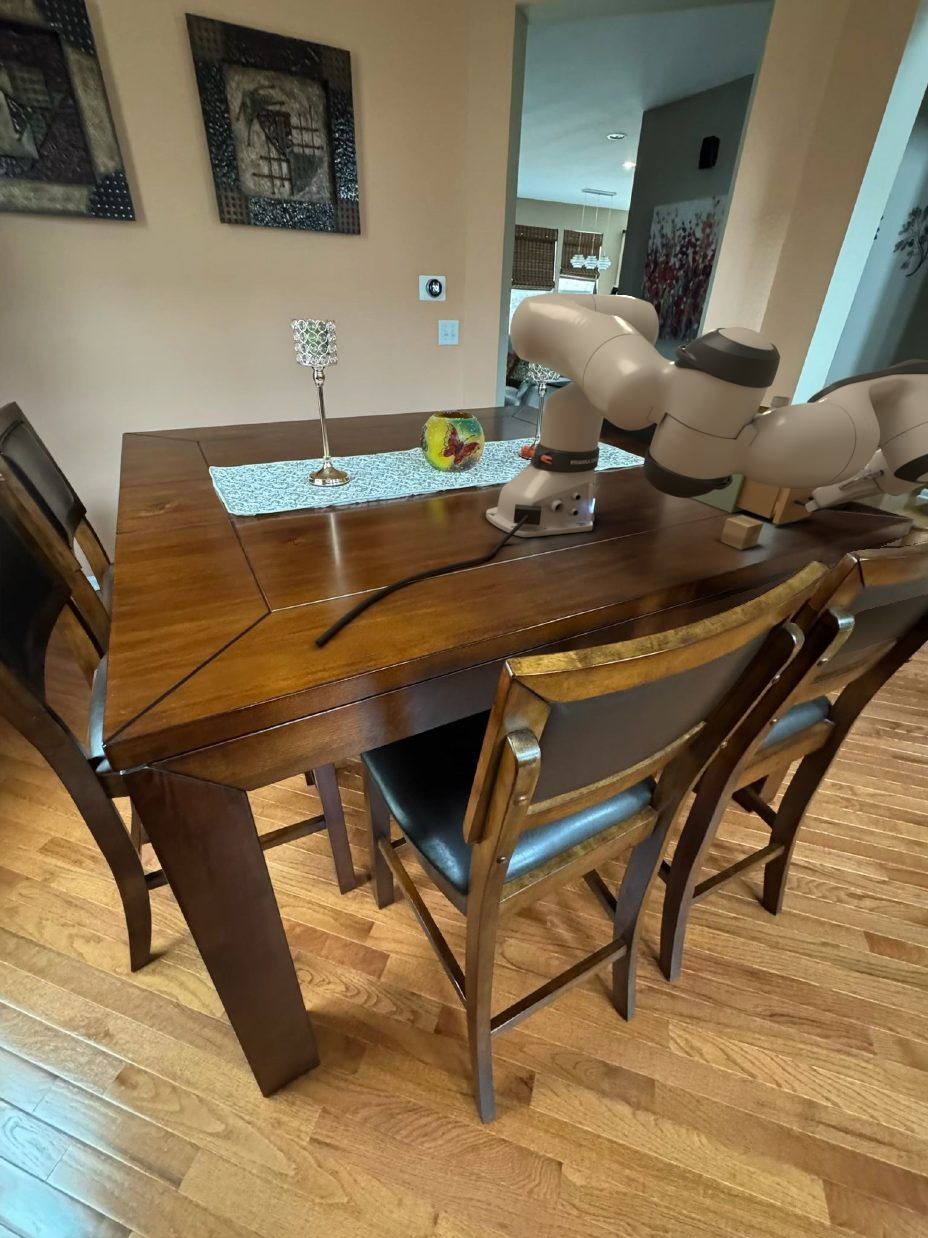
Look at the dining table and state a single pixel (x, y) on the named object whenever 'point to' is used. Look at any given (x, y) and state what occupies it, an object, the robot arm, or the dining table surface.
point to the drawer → (775, 501)
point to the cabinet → (724, 496)
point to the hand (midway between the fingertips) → (819, 505)
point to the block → (741, 532)
